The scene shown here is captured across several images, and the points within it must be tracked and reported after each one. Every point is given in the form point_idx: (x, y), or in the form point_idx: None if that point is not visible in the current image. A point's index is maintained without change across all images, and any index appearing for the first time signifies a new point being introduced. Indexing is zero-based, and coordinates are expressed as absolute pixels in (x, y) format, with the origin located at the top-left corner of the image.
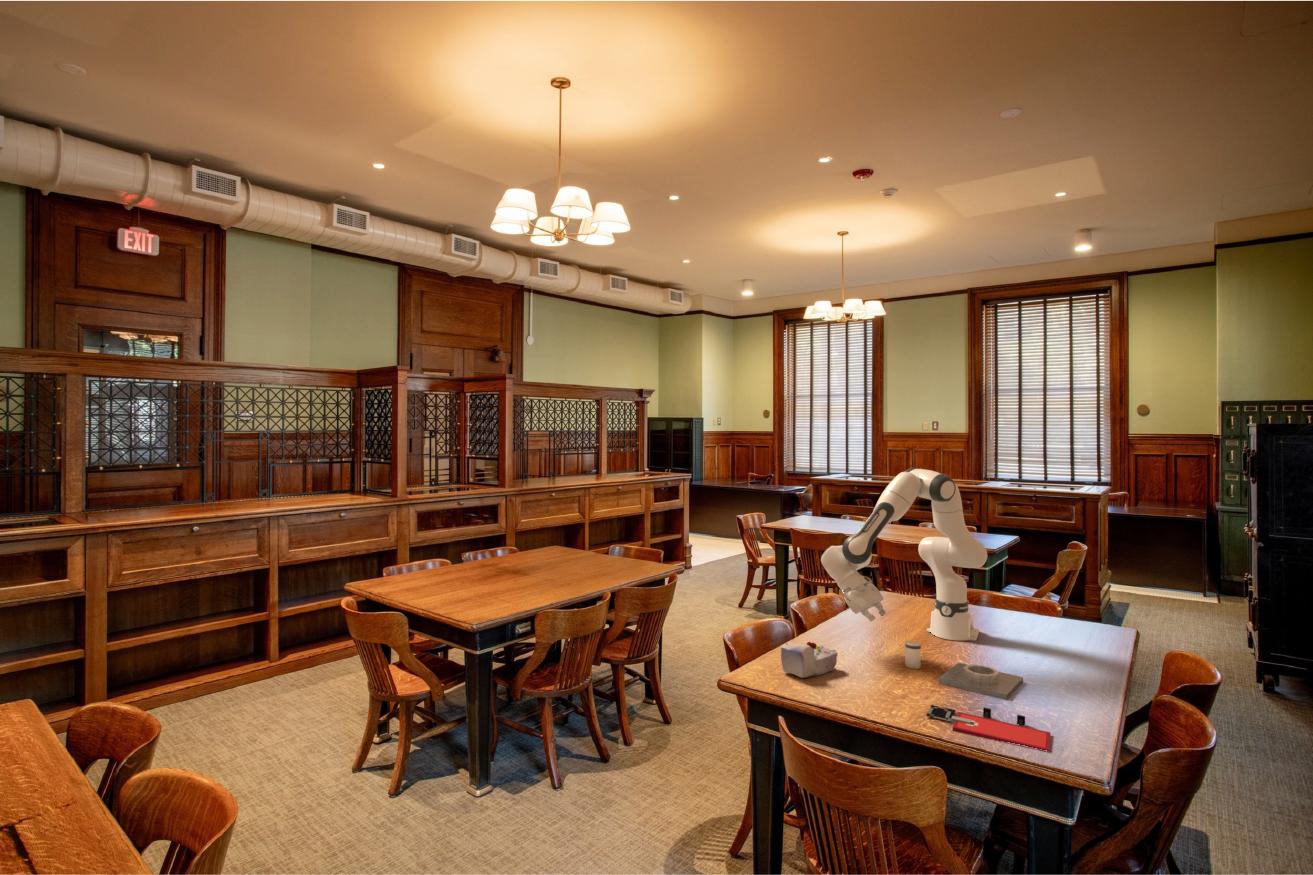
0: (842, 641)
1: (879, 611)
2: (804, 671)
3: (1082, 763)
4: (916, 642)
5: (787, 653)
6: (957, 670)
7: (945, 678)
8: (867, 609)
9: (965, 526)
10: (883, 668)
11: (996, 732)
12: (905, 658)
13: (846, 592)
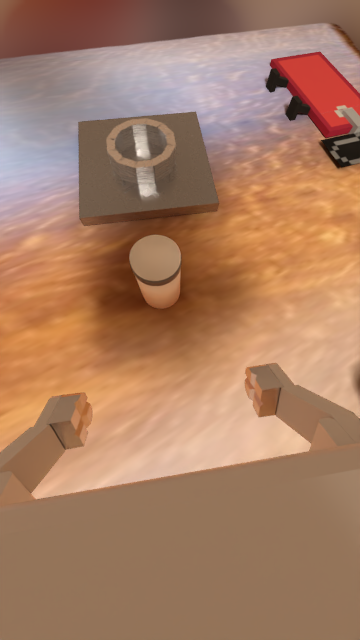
0: None
1: (59, 453)
2: None
3: (311, 36)
4: (139, 252)
5: None
6: (137, 199)
7: (208, 194)
8: (327, 430)
9: None
10: (240, 328)
11: (337, 88)
12: (174, 295)
13: None
